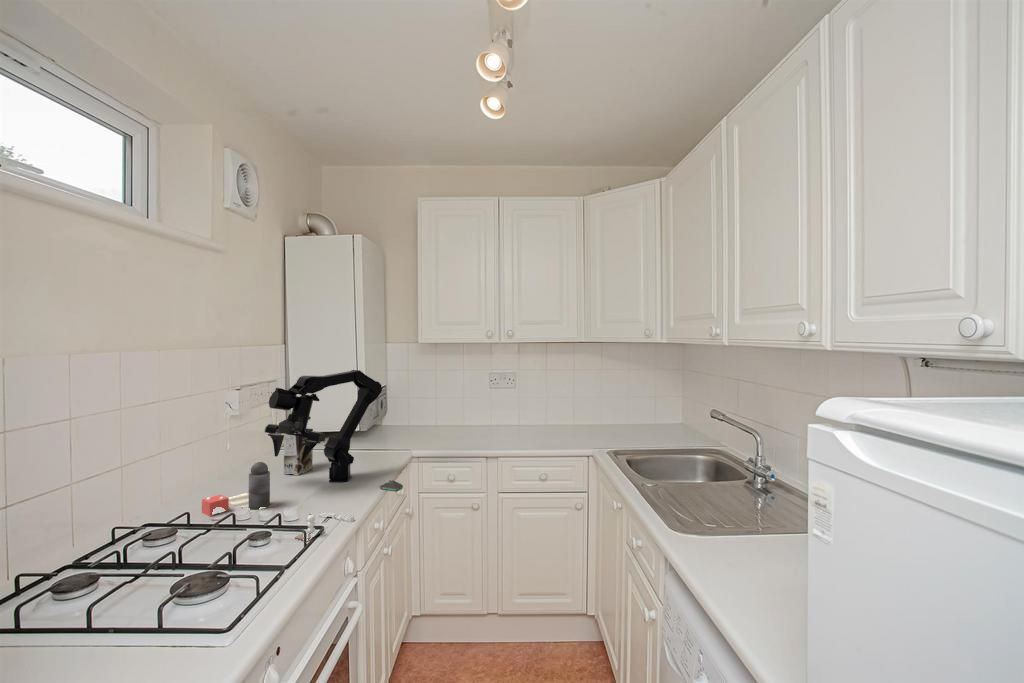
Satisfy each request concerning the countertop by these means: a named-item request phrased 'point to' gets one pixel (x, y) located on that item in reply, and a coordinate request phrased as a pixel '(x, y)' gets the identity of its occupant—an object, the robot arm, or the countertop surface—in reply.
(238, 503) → the game track
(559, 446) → the countertop surface
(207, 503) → the red arch block
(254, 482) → the pawn
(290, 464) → the coffee box
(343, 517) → the game pieces
